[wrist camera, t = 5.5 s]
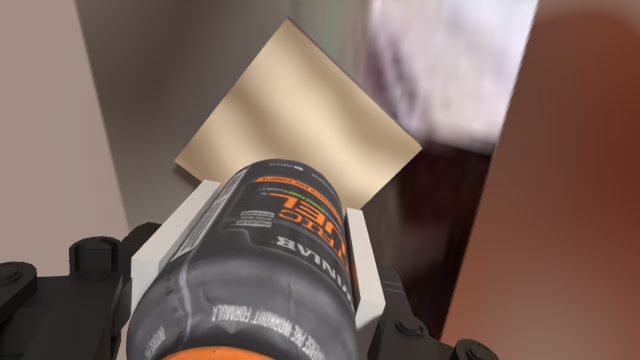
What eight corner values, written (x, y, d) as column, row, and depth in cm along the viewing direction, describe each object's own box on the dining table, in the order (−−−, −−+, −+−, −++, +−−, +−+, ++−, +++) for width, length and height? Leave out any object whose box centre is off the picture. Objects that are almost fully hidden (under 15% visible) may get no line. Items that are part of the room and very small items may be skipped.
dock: (289, 17, 27) (286, 13, 24) (416, 139, 30) (426, 148, 27) (184, 151, 31) (170, 161, 28) (307, 246, 34) (306, 264, 31)
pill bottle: (368, 209, 17) (450, 487, 6) (289, 287, 18) (244, 616, 8) (270, 128, 15) (152, 300, 5) (194, 219, 17) (-23, 504, 6)
